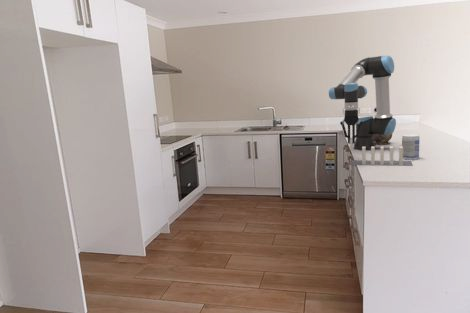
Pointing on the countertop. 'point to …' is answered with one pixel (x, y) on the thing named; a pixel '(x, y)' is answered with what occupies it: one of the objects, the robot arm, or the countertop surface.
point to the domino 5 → (400, 155)
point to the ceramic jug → (381, 137)
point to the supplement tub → (410, 146)
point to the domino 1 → (363, 155)
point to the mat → (386, 163)
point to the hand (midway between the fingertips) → (351, 148)
